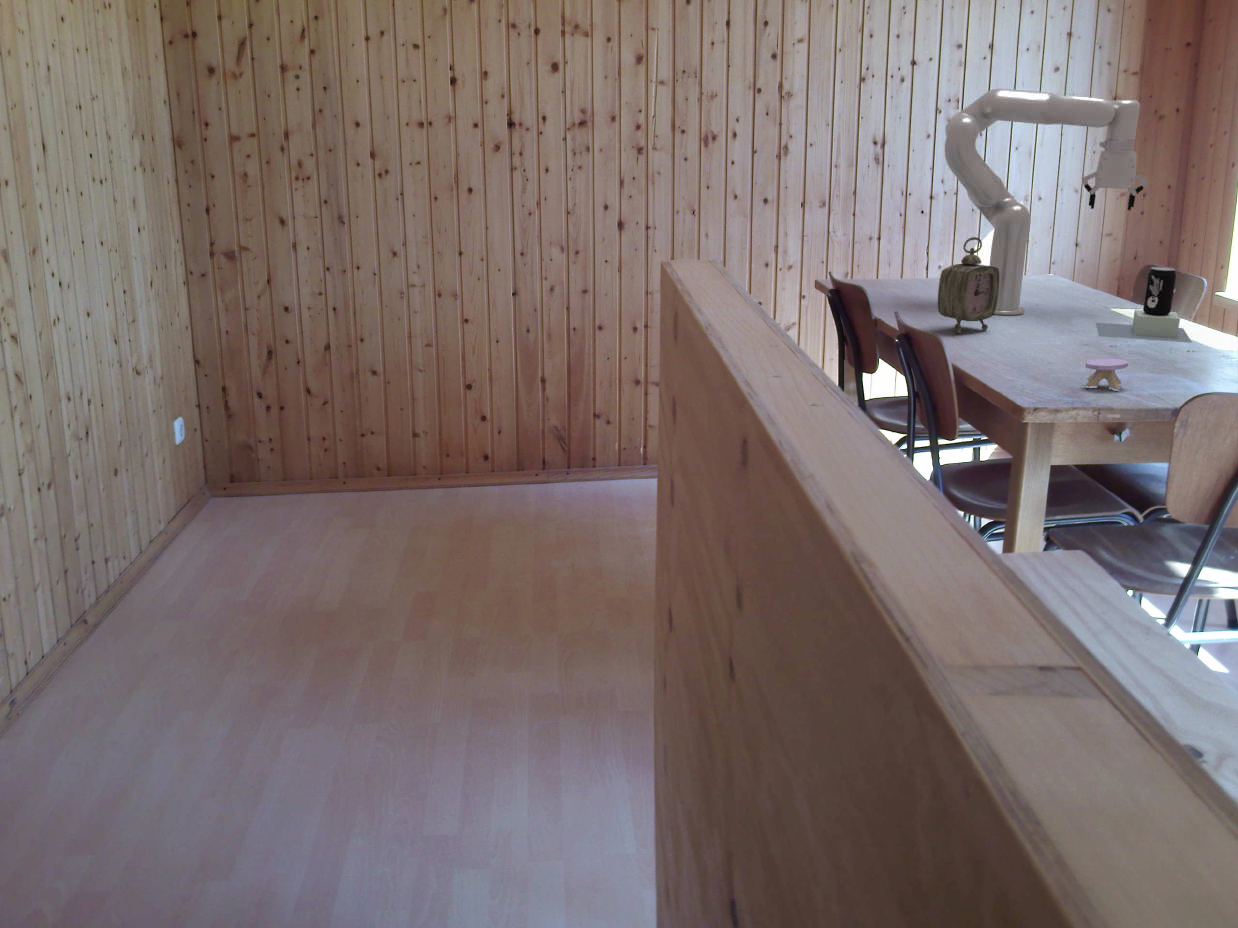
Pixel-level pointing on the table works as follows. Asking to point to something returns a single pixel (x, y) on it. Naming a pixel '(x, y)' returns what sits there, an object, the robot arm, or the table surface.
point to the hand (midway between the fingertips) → (1110, 209)
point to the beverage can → (1159, 291)
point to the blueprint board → (1128, 332)
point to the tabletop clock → (968, 290)
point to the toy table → (1105, 371)
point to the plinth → (1155, 324)
